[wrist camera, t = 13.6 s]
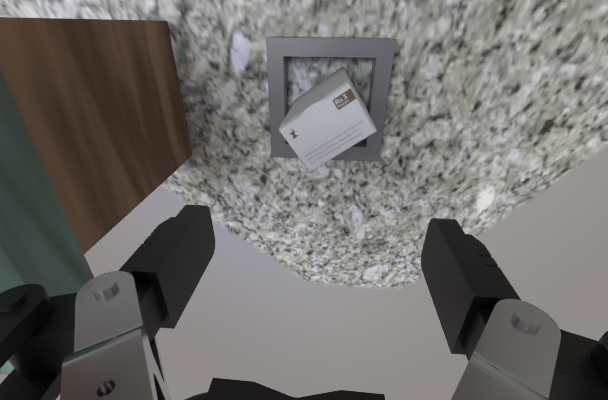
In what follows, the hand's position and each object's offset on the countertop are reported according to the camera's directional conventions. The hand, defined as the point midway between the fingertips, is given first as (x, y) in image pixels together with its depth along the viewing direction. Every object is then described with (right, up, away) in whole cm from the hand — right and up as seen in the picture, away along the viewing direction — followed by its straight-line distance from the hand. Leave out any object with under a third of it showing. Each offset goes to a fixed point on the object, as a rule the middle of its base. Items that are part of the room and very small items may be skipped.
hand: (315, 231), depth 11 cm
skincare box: (+2, +12, +21) cm, 24 cm away
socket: (+2, +12, +21) cm, 24 cm away
